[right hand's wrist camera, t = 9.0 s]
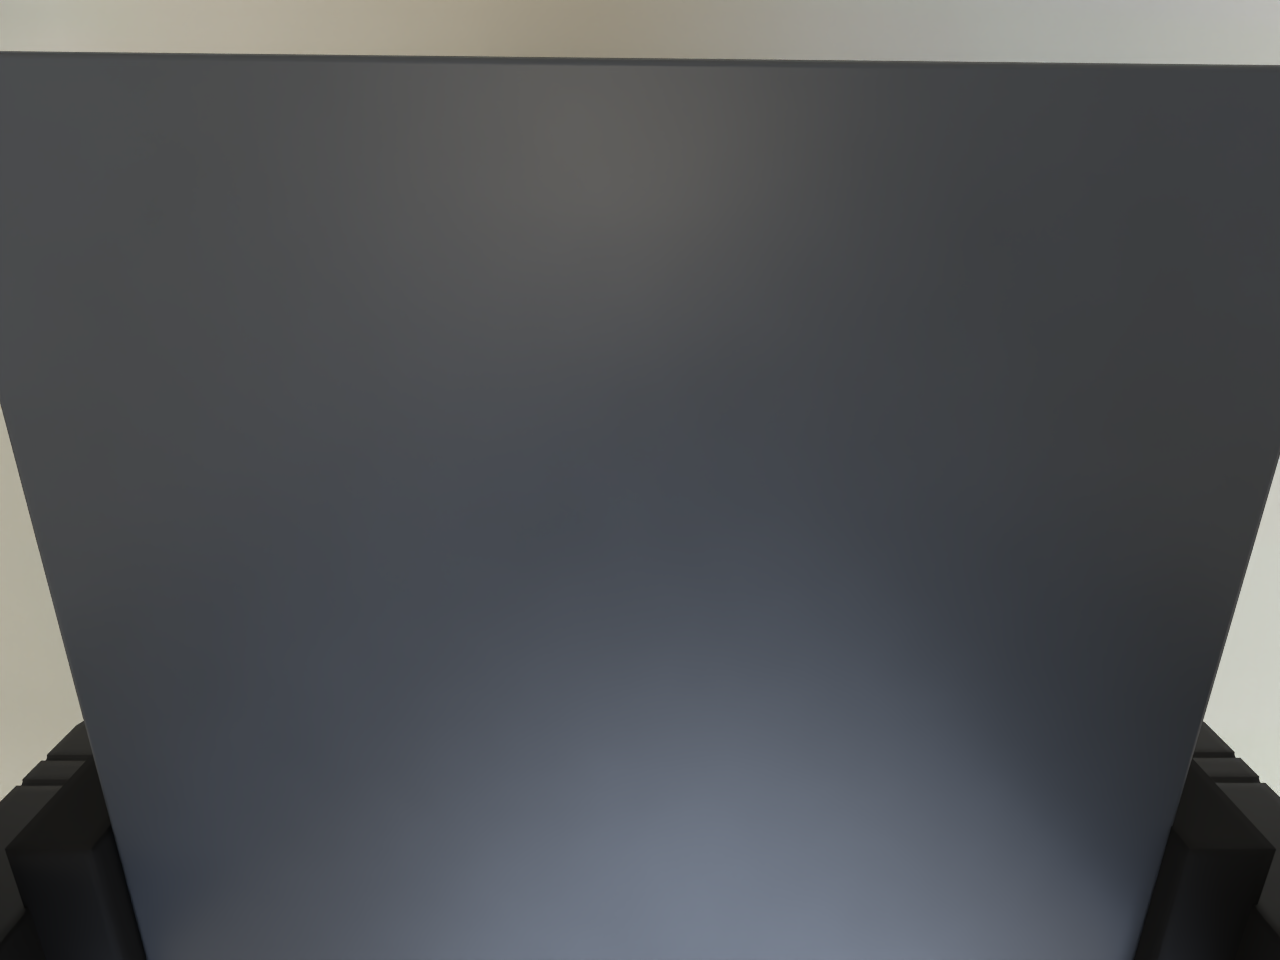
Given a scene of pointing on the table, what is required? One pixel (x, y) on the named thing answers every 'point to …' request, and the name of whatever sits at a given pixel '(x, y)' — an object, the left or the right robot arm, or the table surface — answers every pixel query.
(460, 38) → the table surface
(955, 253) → the wide beam
